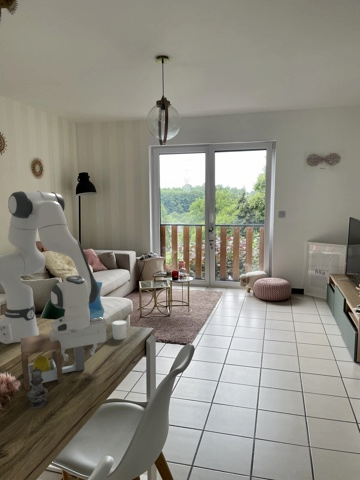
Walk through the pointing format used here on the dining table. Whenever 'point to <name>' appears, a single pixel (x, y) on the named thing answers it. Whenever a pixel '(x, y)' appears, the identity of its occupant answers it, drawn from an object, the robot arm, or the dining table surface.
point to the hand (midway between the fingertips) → (79, 357)
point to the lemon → (42, 364)
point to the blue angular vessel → (96, 305)
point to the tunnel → (36, 346)
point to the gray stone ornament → (37, 390)
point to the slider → (52, 374)
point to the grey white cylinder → (119, 329)
